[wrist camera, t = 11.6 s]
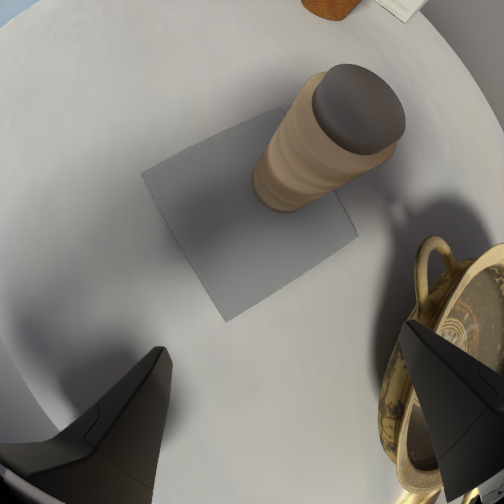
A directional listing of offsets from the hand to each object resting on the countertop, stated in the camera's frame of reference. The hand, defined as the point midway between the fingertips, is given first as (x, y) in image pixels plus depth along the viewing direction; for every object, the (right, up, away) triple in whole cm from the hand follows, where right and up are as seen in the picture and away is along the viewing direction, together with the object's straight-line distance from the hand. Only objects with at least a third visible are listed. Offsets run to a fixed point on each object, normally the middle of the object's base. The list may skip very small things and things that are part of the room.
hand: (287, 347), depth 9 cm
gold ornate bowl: (+18, -8, +15) cm, 25 cm away
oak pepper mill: (+1, +9, +12) cm, 15 cm away
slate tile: (-1, +7, +12) cm, 14 cm away
